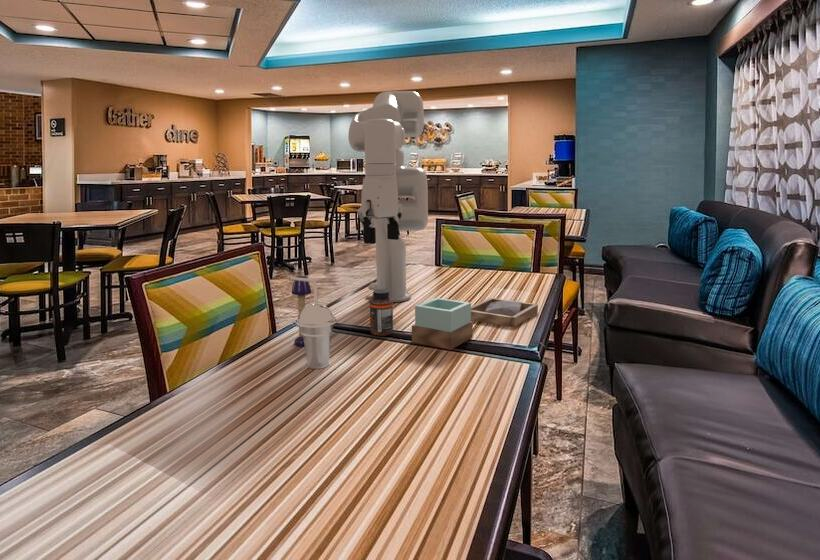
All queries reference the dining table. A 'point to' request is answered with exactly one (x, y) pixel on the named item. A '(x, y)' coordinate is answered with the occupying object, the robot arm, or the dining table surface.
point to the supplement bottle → (381, 313)
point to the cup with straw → (316, 330)
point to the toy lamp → (300, 302)
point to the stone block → (504, 308)
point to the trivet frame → (515, 320)
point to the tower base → (442, 336)
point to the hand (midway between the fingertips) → (381, 241)
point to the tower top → (443, 314)
